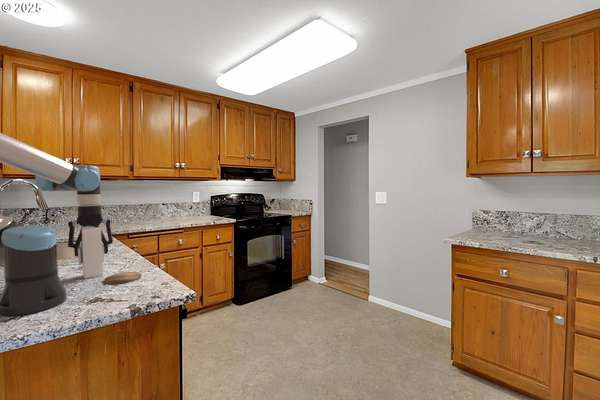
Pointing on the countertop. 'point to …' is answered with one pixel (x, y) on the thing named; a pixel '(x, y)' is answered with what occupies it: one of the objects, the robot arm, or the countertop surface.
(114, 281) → the disc
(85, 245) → the milk
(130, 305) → the countertop surface
